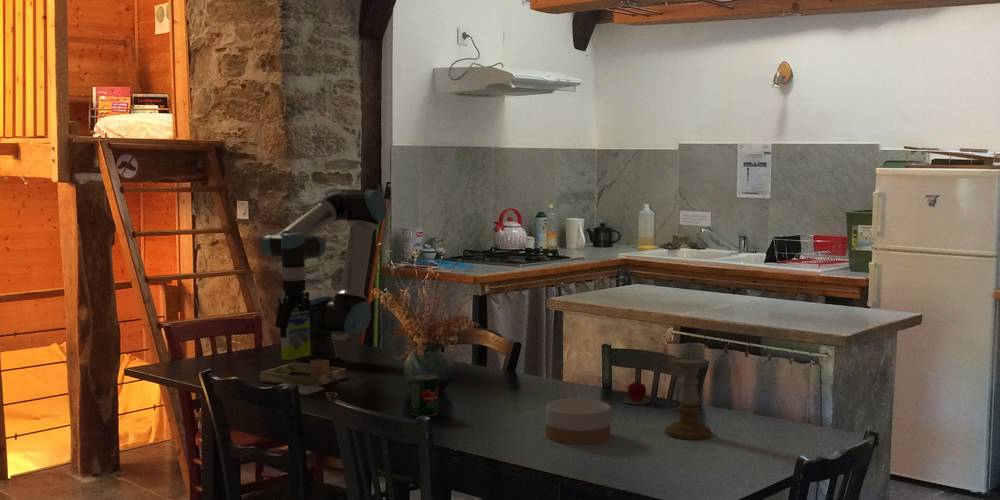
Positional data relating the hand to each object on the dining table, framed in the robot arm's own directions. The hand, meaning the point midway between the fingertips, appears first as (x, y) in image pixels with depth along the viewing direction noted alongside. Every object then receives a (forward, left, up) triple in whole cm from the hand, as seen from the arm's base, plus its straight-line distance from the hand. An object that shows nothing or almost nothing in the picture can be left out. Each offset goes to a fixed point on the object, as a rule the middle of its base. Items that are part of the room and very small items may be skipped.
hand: (295, 343), depth 347 cm
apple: (-16, +115, -12) cm, 116 cm away
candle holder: (+14, +139, -12) cm, 140 cm away
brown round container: (+29, +113, -12) cm, 117 cm away
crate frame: (+1, +4, -12) cm, 12 cm away
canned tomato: (+25, +64, -12) cm, 69 cm away
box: (0, 0, -5) cm, 5 cm away
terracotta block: (+1, +10, -12) cm, 15 cm away
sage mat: (+15, +11, -12) cm, 22 cm away
